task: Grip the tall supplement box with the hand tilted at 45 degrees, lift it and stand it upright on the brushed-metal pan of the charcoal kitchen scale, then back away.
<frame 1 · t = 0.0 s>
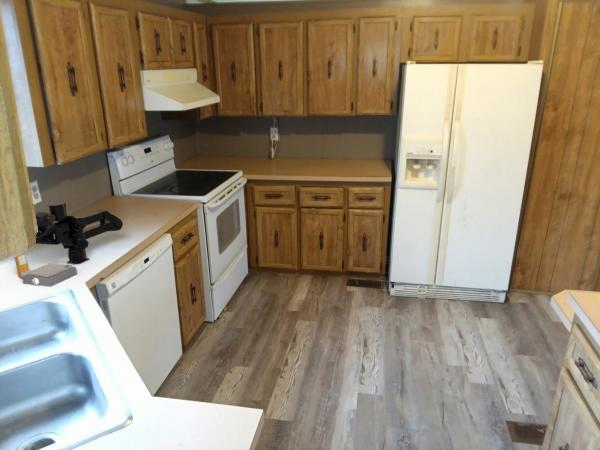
hand: (21, 241, 165), 17 cm above the worktop, tool horizontal, fingers open, 9 cm apart
kitchen scale: (50, 278, 173), on the worktop
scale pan: (49, 270, 172), point 4 cm above the worktop, slide at -0.2 cm
supplement box: (24, 277, 175), on the worktop
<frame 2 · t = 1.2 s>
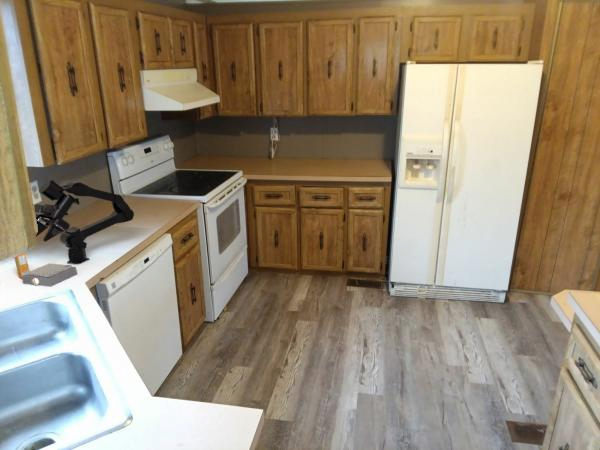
hand: (38, 239, 178), 14 cm above the worktop, tool tilted 45°, fingers open, 9 cm apart
nothing on the worktop moved.
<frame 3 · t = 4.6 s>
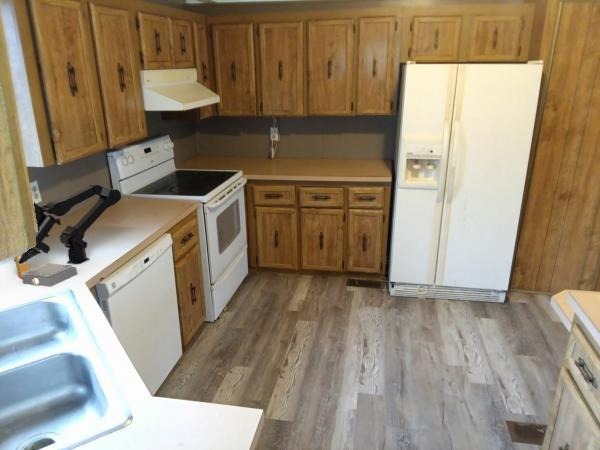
hand: (17, 262, 172), 7 cm above the worktop, tool tilted 45°, fingers closed on supplement box, 3 cm apart
supplement box: (24, 277, 175), on the worktop, touching gripper
everything else where it was.
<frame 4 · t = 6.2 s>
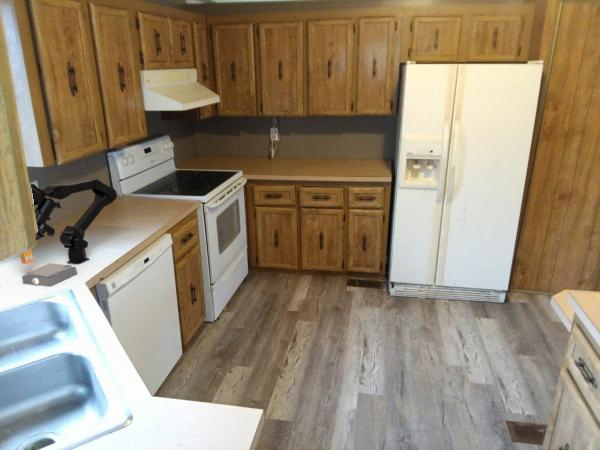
hand: (20, 246, 169), 13 cm above the worktop, tool tilted 45°, fingers closed on supplement box, 3 cm apart
supplement box: (27, 262, 172), point 6 cm above the worktop, touching gripper
everything else where it was.
when the fingers open (11 cm above the worktop, at t = 8.1 s): supplement box stays where it is, resting on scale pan.
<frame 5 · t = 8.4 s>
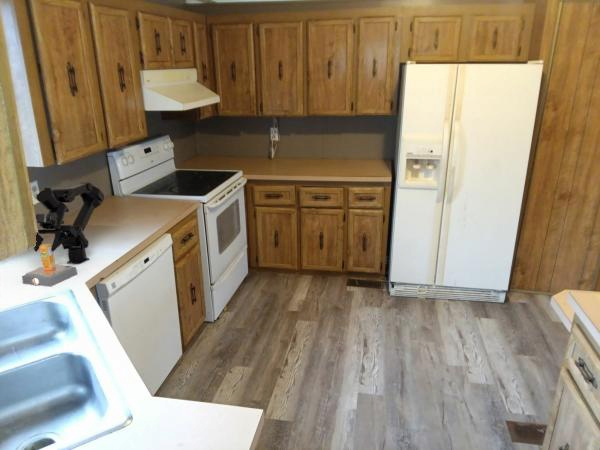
hand: (43, 251, 168), 12 cm above the worktop, tool tilted 45°, fingers open, 6 cm apart
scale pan: (49, 270, 172), point 3 cm above the worktop, slide at -0.4 cm, touching supplement box
supplement box: (49, 270, 172), point 4 cm above the worktop, touching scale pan
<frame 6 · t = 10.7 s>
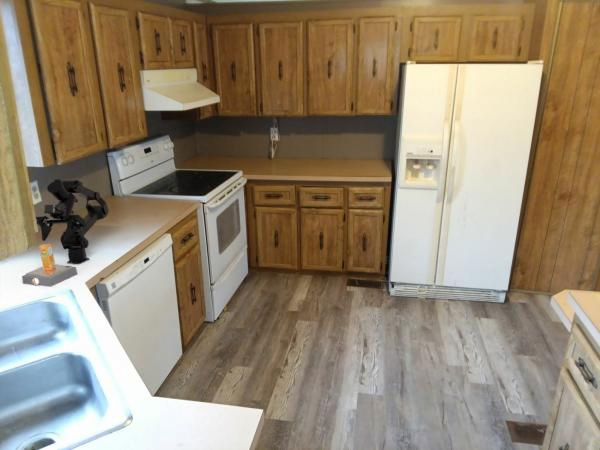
hand: (54, 240, 176), 14 cm above the worktop, tool tilted 45°, fingers open, 9 cm apart
nothing on the worktop moved.
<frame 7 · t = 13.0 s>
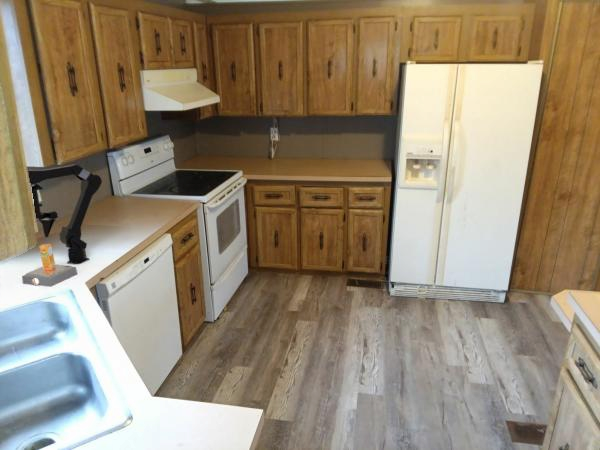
hand: (37, 240, 179), 13 cm above the worktop, tool pointing down, fingers open, 9 cm apart
nothing on the worktop moved.
at the end: supplement box inside the target area on the kitchen scale (0.1 cm from its centre), point 3.6 cm above the kitchen scale's base; supplement box tilted 0°; the gripper is holding nothing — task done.
